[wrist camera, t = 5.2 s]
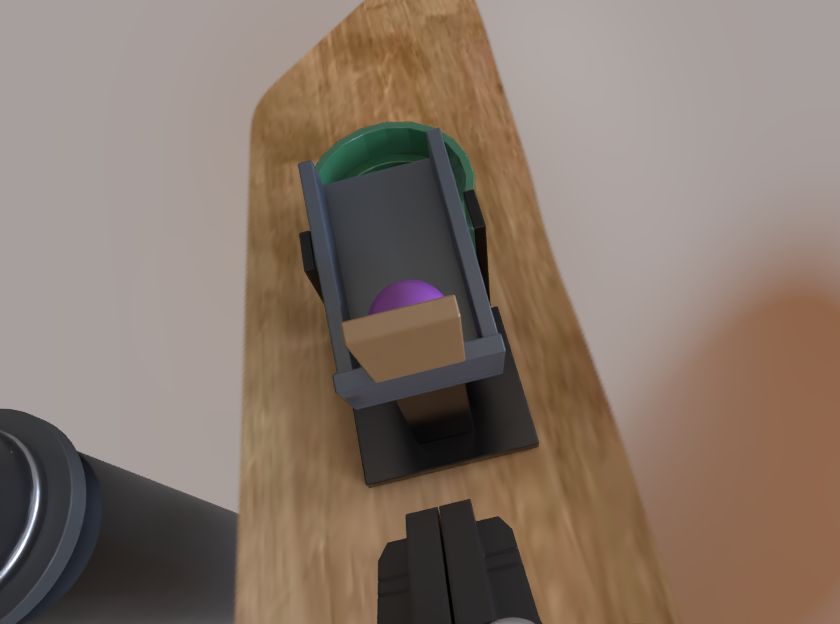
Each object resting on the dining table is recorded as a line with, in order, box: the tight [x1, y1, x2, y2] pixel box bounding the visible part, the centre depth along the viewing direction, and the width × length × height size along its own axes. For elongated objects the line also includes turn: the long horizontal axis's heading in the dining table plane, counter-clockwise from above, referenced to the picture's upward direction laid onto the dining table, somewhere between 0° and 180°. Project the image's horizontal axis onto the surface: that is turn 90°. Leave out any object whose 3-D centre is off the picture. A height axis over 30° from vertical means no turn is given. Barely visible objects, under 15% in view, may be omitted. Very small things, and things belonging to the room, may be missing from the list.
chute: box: [298, 128, 506, 410], centre depth 22 cm, size 10×6×8 cm, turn 12°
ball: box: [368, 280, 444, 315], centre depth 23 cm, size 3×3×3 cm
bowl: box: [305, 122, 476, 219], centre depth 37 cm, size 9×9×5 cm
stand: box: [299, 189, 539, 488], centre depth 30 cm, size 9×9×10 cm
